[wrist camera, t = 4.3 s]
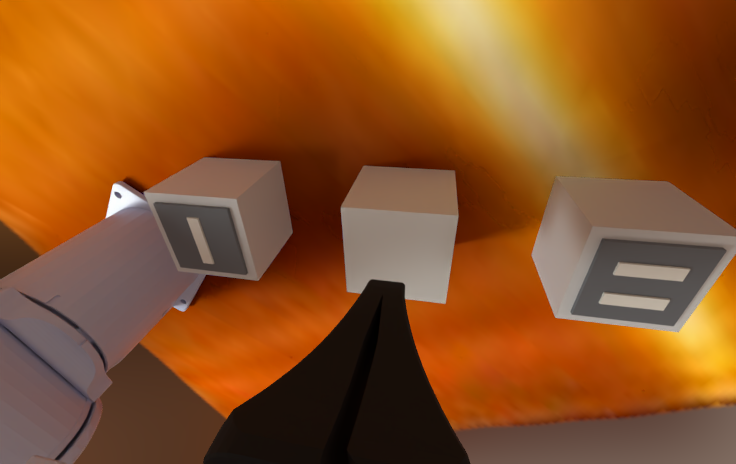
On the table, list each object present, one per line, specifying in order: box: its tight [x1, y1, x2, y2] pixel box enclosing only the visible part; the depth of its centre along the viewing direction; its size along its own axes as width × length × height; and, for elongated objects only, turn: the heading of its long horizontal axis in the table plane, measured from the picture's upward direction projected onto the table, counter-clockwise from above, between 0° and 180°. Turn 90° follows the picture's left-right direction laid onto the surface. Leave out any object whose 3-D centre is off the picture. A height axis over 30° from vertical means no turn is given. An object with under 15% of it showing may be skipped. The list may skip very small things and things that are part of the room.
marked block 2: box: [532, 176, 736, 332], centre depth 15 cm, size 5×5×5 cm
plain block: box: [341, 166, 459, 304], centre depth 17 cm, size 5×5×5 cm
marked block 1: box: [143, 157, 293, 281], centre depth 19 cm, size 5×5×5 cm
